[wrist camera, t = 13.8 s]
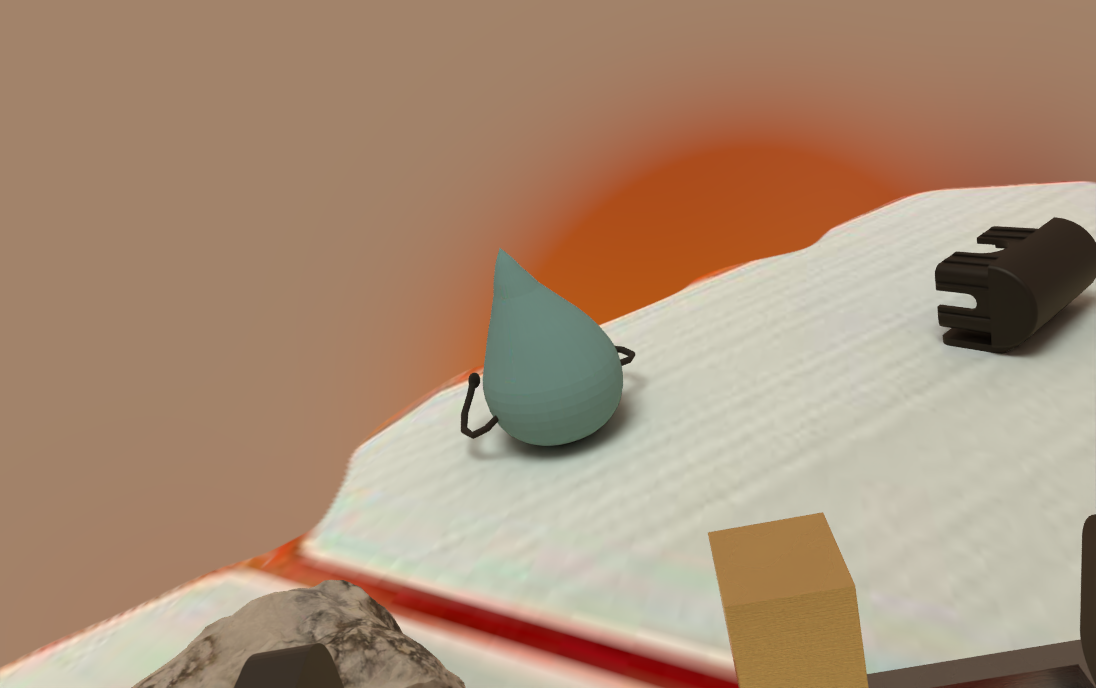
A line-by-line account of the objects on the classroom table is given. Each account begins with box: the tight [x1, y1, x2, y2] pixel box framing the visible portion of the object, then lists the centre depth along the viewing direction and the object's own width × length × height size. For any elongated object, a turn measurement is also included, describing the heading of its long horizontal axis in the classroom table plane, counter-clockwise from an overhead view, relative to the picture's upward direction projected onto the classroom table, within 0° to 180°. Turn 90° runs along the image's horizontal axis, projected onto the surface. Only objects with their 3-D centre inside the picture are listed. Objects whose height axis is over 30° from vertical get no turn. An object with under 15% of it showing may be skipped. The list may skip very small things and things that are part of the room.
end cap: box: [935, 217, 1096, 353], centre depth 65 cm, size 10×7×7 cm
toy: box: [461, 248, 635, 446], centre depth 65 cm, size 15×12×15 cm
